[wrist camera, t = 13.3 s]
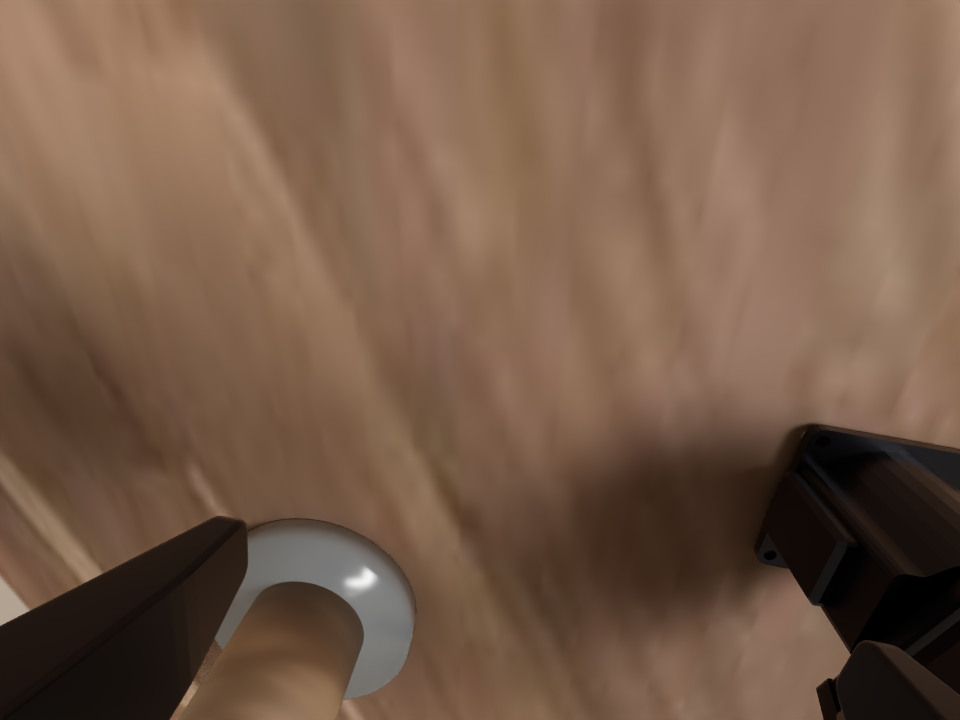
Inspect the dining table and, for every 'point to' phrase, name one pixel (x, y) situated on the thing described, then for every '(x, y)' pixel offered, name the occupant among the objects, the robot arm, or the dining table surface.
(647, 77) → the dining table surface
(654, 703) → the dining table surface
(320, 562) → the slate coaster
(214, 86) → the dining table surface
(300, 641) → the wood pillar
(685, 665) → the dining table surface
